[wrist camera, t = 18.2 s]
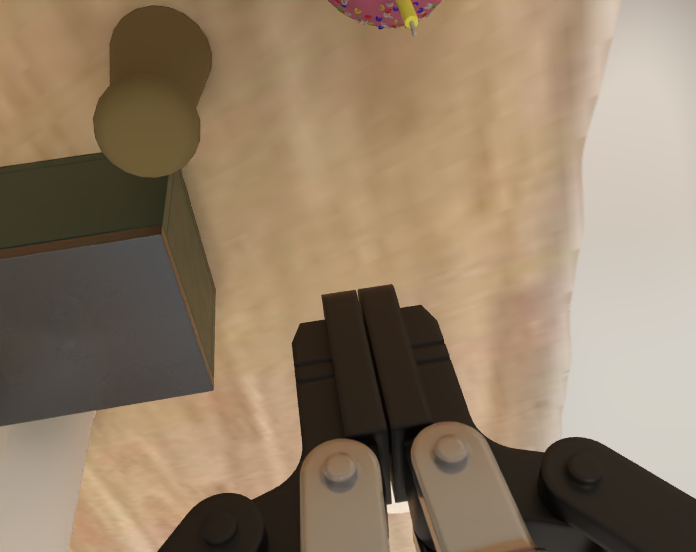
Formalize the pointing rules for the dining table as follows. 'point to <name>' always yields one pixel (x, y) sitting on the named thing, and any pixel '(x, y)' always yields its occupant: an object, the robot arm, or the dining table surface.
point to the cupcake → (387, 12)
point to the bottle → (41, 481)
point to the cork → (153, 92)
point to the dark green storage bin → (108, 217)
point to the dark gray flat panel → (95, 326)
